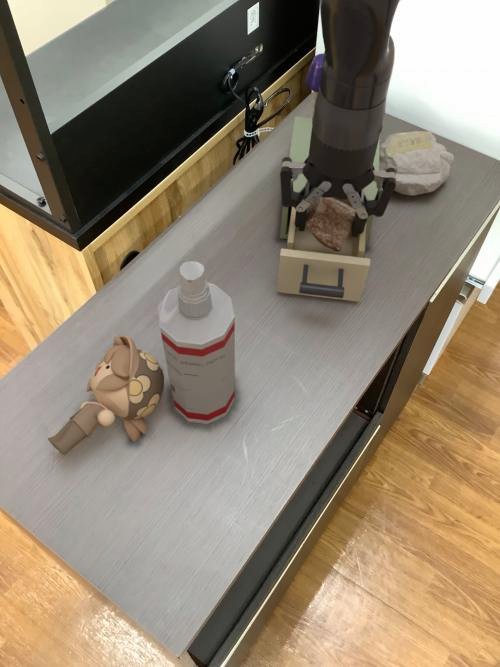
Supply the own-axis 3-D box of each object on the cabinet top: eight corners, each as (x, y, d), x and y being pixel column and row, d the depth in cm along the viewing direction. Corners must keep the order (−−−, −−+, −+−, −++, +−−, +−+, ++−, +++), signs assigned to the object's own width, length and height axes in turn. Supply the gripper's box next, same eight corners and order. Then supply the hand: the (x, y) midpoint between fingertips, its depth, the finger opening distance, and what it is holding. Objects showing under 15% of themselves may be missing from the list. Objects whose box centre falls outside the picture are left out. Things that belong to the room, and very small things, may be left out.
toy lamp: (318, 164, 101) (331, 72, 87) (292, 153, 102) (302, 61, 88) (331, 147, 103) (346, 54, 89) (307, 137, 104) (318, 44, 90)
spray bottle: (166, 418, 76) (140, 296, 55) (178, 366, 80) (158, 233, 59) (230, 426, 75) (228, 307, 54) (238, 373, 80) (240, 243, 59)
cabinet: (365, 248, 91) (378, 200, 83) (279, 238, 92) (284, 190, 84) (368, 174, 100) (380, 125, 92) (290, 166, 100) (294, 116, 92)
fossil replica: (459, 187, 99) (413, 156, 104) (476, 141, 93) (425, 111, 97) (407, 216, 94) (361, 182, 99) (420, 169, 88) (370, 136, 92)
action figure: (18, 407, 72) (117, 328, 78) (77, 475, 76) (168, 394, 81) (33, 419, 64) (144, 328, 69) (99, 495, 67) (200, 402, 72)
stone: (317, 260, 83) (347, 252, 79) (290, 232, 80) (320, 222, 76) (333, 221, 86) (362, 211, 83) (308, 192, 83) (337, 181, 80)
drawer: (358, 328, 83) (369, 292, 76) (273, 317, 83) (276, 281, 77) (363, 223, 93) (372, 184, 86) (287, 215, 93) (290, 175, 87)
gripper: (412, 109, 70) (383, 214, 84) (285, 97, 71) (276, 203, 85) (413, 154, 66) (382, 257, 80) (278, 140, 67) (270, 244, 81)
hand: (328, 229), depth 82 cm, fingers closed on stone, 6 cm apart
